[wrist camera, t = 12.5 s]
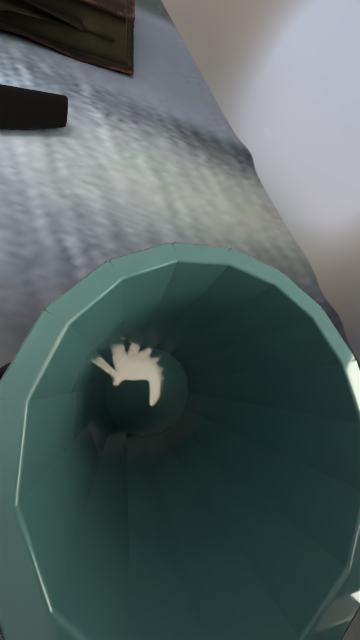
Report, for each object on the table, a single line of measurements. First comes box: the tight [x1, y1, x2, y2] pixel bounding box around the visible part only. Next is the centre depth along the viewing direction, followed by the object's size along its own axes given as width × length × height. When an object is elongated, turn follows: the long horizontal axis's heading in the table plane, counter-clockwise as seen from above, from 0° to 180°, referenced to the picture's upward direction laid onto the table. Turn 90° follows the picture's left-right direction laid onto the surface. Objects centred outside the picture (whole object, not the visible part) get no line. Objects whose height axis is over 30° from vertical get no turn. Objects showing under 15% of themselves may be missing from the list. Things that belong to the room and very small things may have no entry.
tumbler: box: [0, 242, 360, 640], centre depth 9 cm, size 7×7×13 cm
